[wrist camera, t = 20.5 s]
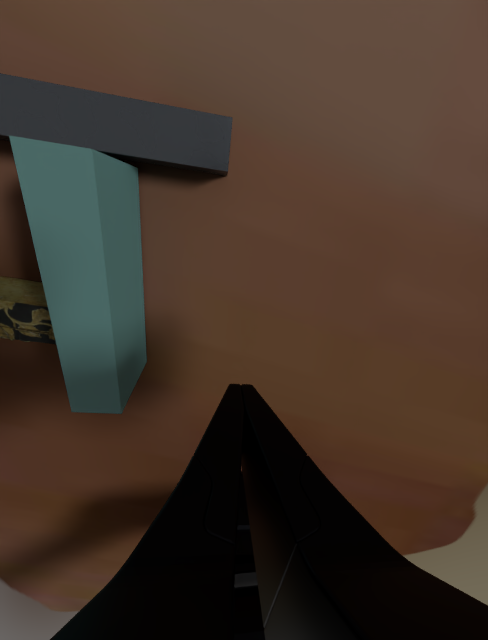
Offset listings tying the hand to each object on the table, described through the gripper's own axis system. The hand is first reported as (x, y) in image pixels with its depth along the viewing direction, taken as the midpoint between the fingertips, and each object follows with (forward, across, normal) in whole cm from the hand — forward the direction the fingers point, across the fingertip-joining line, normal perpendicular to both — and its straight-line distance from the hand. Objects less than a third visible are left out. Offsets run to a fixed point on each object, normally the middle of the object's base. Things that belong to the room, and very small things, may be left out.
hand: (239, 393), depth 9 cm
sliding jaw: (+8, +7, -2) cm, 11 cm away
